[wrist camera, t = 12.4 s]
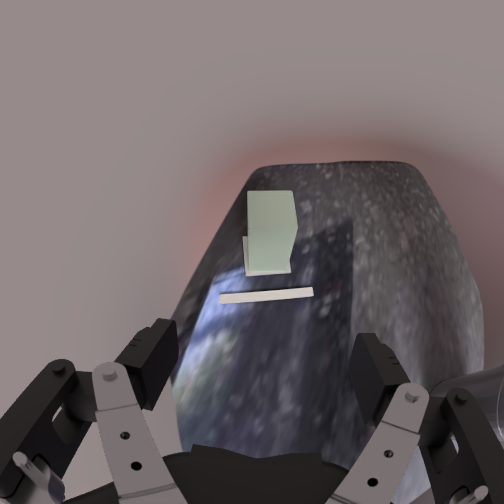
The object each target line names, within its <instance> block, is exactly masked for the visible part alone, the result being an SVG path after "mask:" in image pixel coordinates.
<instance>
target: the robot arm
mask: <svg viewBox="0 0 504 504" xmlns="http://www.w3.org/2000/svg"><path fill="white" fill-rule="evenodd" d="M178 354H179V347H178V338H177V328H176V322H175V321H174V320H169V319H162V318H158V319H157V320H156V322H155V323H154V324H153V325H152V327H151V328H150V327H146V328H144V329H142V330H140V331H139V332H138V333H137V334H136V335H135V336H134V337H133V340H131V341H130V342H129V344H128V345H127V346H126V347H125V349H124V350H123V351H122V352H121V354H120V355H119V356H118V357H117V359H116V360H115V361H114V362H107V363H103V364H100V365H99V366H97V367H96V368H95V369H94V370H93V372H83V371H76V370H75V367H74V364H73V363H72V362H71V361H69V360H66V359H58V360H55V361H52V362H50V363H49V364H48V365H47V366H46V367H45V368H44V369H43V370H42V371H41V372H40V374H38V376H37V377H36V378H35V379H34V380H33V381H32V382H31V383H30V384H29V386H28V387H27V388H26V389H25V390H24V391H23V393H22V394H21V395H20V396H19V397H18V399H17V400H16V401H15V402H14V403H13V404H12V406H11V407H10V408H9V409H8V410H7V412H6V413H5V414H4V415H3V417H2V418H1V419H0V500H1V501H2V502H3V503H5V504H393V503H392V502H391V500H392V498H393V496H394V495H395V493H396V491H397V489H398V487H399V485H400V483H401V481H402V479H403V477H404V475H405V472H406V470H407V468H408V466H409V463H410V461H411V459H412V456H413V454H414V452H415V449H416V447H417V445H418V446H419V448H420V451H421V454H422V457H423V460H424V464H425V467H426V470H427V474H428V477H429V481H430V484H431V488H432V492H433V496H434V500H435V504H504V450H503V448H502V446H501V444H500V442H499V440H504V364H502V365H499V366H496V367H493V368H490V369H486V370H483V371H479V372H476V373H472V374H468V375H464V376H460V377H456V378H452V379H447V380H445V381H442V382H441V383H439V384H438V385H437V386H436V387H435V388H434V389H433V391H432V392H431V394H430V396H429V394H428V392H427V390H426V389H425V388H423V387H422V386H420V385H418V384H415V383H411V382H410V380H409V378H408V376H407V375H406V373H405V371H404V369H403V368H402V366H401V364H400V362H399V361H398V359H397V358H396V356H395V354H394V352H393V351H392V349H390V348H389V347H388V346H387V345H385V344H381V343H380V341H379V340H378V338H377V336H376V334H375V333H358V334H357V336H356V339H355V343H354V347H353V350H352V354H351V357H350V361H349V375H350V378H351V381H352V384H353V387H354V391H355V394H356V397H357V400H358V403H359V407H360V410H361V413H362V417H363V420H364V424H365V427H367V426H375V427H376V431H375V432H374V434H373V436H372V437H371V439H370V441H369V442H368V444H367V446H366V447H365V449H364V450H363V452H362V454H361V455H360V457H359V458H358V460H357V461H356V463H355V464H354V466H353V467H352V469H351V470H350V471H349V470H347V469H346V468H343V467H341V466H339V465H336V464H333V463H330V462H325V461H322V455H321V453H290V454H285V455H279V456H273V457H266V458H252V457H248V456H245V455H242V454H238V453H235V452H232V451H229V450H226V449H221V448H214V447H208V446H202V445H196V444H193V446H192V449H191V452H180V453H175V454H170V455H167V456H164V457H161V455H160V453H159V451H158V449H157V446H156V444H155V442H154V440H153V438H152V436H151V433H150V431H149V428H148V426H147V424H146V421H145V419H144V417H143V414H142V409H146V410H150V411H152V410H153V408H154V406H155V404H156V402H157V400H158V398H159V396H160V394H161V392H162V390H163V388H164V386H165V384H166V382H167V380H168V378H169V376H170V374H171V372H172V370H173V368H174V366H175V364H176V362H177V359H178ZM60 406H61V408H62V409H61V411H60V412H59V413H58V415H57V416H56V418H55V419H54V421H53V422H52V419H53V416H54V414H55V413H56V411H57V410H58V409H59V407H60ZM92 422H97V424H98V428H99V433H100V436H101V441H102V445H103V448H104V452H105V456H106V459H107V462H108V466H109V469H110V472H111V475H112V478H113V482H111V483H109V484H107V485H104V486H102V487H100V488H97V489H95V490H92V491H90V492H87V493H85V494H82V495H79V496H77V497H74V498H71V499H69V500H66V501H64V500H65V495H64V493H65V487H64V484H63V482H62V478H63V476H64V474H65V472H66V470H67V468H68V466H69V464H70V462H71V460H72V458H73V457H74V455H75V453H76V451H77V449H78V447H79V446H80V444H81V442H82V440H83V438H84V436H85V435H86V433H87V431H88V429H89V427H90V426H91V424H92ZM452 440H456V441H457V444H458V447H459V451H458V454H457V451H456V449H455V446H454V444H453V442H452Z"/></svg>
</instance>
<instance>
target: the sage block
mask: <svg viewBox="0 0 504 504" xmlns="http://www.w3.org/2000/svg"><path fill="white" fill-rule="evenodd" d="M247 204H248V269H249V271H285V270H287V266H288V263H289V259H290V255H291V252H292V248H293V244H294V240H295V236H296V233H297V229H298V225H297V218H296V212H295V205H294V199H293V193H292V191H247Z"/></svg>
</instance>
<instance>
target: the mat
mask: <svg viewBox="0 0 504 504" xmlns="http://www.w3.org/2000/svg"><path fill="white" fill-rule="evenodd" d="M243 248H244V260H245V273H246V276H256V275H269V274H282V273H291V269H290V262H289V263H288V266H287V270H285V271H249V269H248V236H244V237H243Z"/></svg>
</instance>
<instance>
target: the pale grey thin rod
mask: <svg viewBox="0 0 504 504" xmlns="http://www.w3.org/2000/svg"><path fill="white" fill-rule="evenodd" d="M309 296H314V295H313V289H312V287H308V288H297V289H286V290H274V291H262V292H249V293H235V294H220V304H226V303H241V302H254V301H267V300H278V299H289V298H300V297H309Z"/></svg>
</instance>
